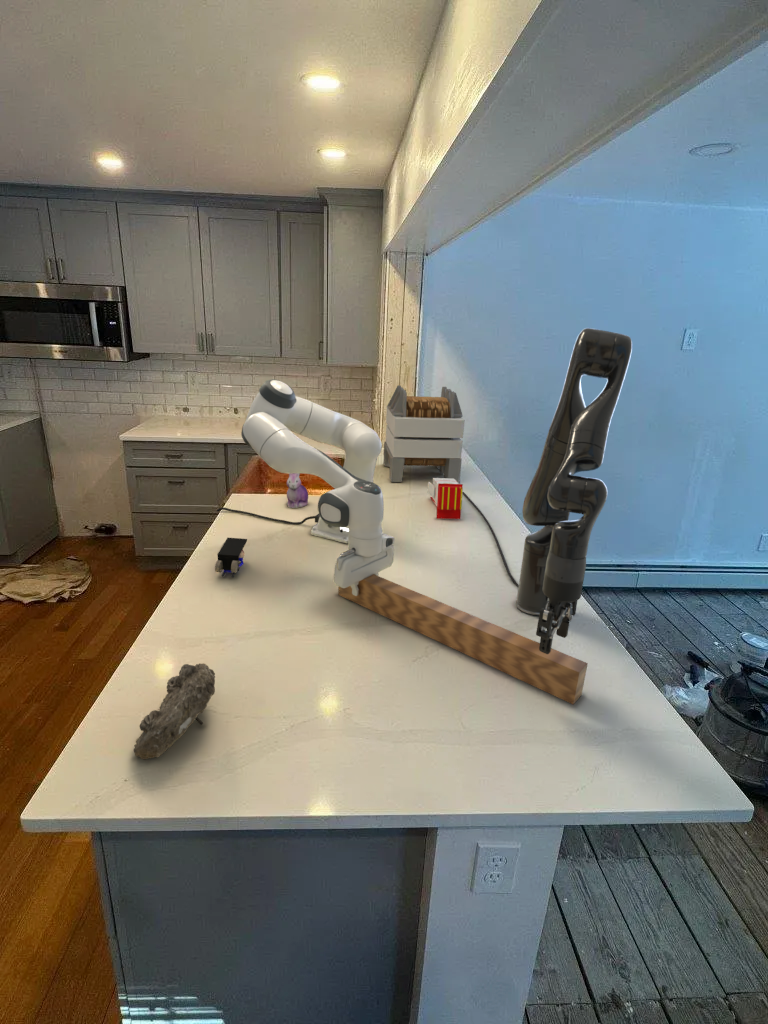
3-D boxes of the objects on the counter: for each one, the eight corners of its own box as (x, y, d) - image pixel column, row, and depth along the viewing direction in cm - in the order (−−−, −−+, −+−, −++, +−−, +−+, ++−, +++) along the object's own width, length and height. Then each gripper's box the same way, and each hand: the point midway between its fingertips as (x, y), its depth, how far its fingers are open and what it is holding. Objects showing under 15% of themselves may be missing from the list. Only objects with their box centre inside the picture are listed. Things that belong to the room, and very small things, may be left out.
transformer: (382, 463, 289) (386, 382, 275) (445, 464, 293) (451, 384, 279) (390, 482, 257) (394, 392, 243) (460, 483, 261) (468, 394, 247)
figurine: (290, 510, 218) (289, 472, 212) (281, 502, 226) (281, 465, 221) (313, 507, 222) (313, 470, 217) (304, 499, 230) (304, 463, 225)
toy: (455, 474, 240) (467, 485, 211) (453, 505, 243) (464, 520, 214) (426, 473, 240) (434, 484, 211) (425, 504, 243) (432, 519, 213)
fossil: (165, 664, 116) (216, 632, 111) (198, 695, 118) (250, 665, 113) (108, 752, 96) (167, 718, 91) (150, 786, 99) (209, 755, 94)
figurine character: (238, 584, 162) (249, 557, 175) (236, 562, 158) (247, 536, 172) (215, 584, 161) (227, 556, 175) (212, 561, 158) (225, 535, 171)
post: (338, 594, 156) (338, 569, 153) (349, 589, 159) (349, 564, 156) (573, 704, 116) (579, 672, 113) (581, 694, 119) (587, 663, 117)
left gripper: (346, 558, 138) (345, 608, 143) (398, 536, 153) (396, 582, 158) (328, 551, 142) (327, 600, 146) (381, 530, 157) (378, 575, 161)
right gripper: (568, 591, 106) (556, 665, 111) (596, 568, 116) (583, 637, 121) (531, 578, 110) (521, 650, 115) (561, 557, 120) (550, 624, 126)
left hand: (363, 590), depth 152 cm, fingers closed on post, 4 cm apart
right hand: (553, 643), depth 118 cm, fingers open, 8 cm apart
